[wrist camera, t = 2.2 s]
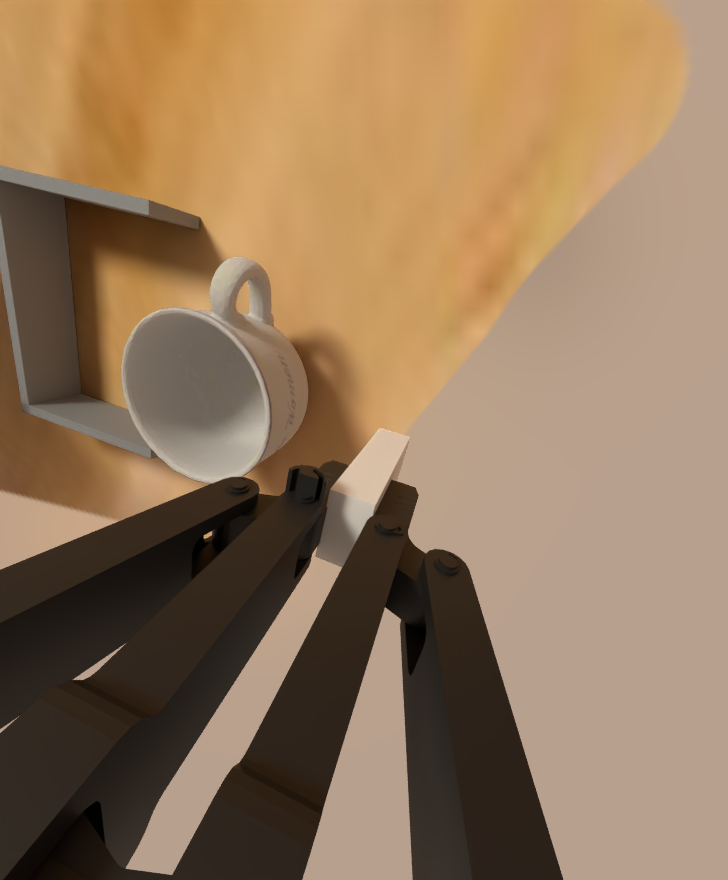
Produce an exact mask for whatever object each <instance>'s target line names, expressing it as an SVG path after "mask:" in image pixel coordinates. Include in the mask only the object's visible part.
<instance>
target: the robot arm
mask: <svg viewBox="0 0 728 880" xmlns="http://www.w3.org/2000/svg"><path fill="white" fill-rule="evenodd" d="M409 439H410V437H408V436H404V435H401V434H398V433H395V432H392V431H389V430H386V429H383V428H379V430H378V431H377V432H376V433H375V434H374V436H373V437H372V438H371V439H370V441H369V442H368V443H367V444H366V446H365V447H364V448H363V449H362V451H361V452H360V453H359V454H358V455H357V457H356V458H355V459H354V460H353V462H352V463H351V464H350V465H349V466H348V465H345V464H342V463H339V462H337V461H334V460H333V461H330V462H327V463H324V464H323V465H322V466H321V467H320V468H319V469H318V468H316V467H312V466H304V465H300V466H294V467H292V468H290V469H289V473H288V479H287V485H286V491H285V492H284V493H283V494H282V495H281V496H271V495H264V494H259V486H258V484H257V483H256V482H255V481H253V480H251V479H248V478H245V477H229V478H225V479H222V480H220V481H217V482H215V483H212V484H210V485H207V486H205V487H202V488H200V489H198V490H195V491H193V492H190V493H188V494H185V495H183V496H180V497H178V498H175V499H173V500H171V501H168V502H166V503H163V504H161V505H158V506H156V507H153V508H151V509H148V510H146V511H144V512H141V513H139V514H136V515H134V516H131V517H129V518H126V519H124V520H121V521H119V522H117V523H114V524H112V525H109V526H107V527H104V528H102V529H100V530H97V531H94V532H92V533H90V534H87V535H85V536H82V537H80V538H77V539H75V540H73V541H70V542H68V543H65V544H63V545H60V546H58V547H55V548H53V549H50V550H48V551H46V552H43V553H41V554H38V555H36V556H33V557H31V558H28V559H26V560H23V561H21V562H19V563H16V564H13V565H11V566H9V567H6V568H4V569H1V570H0V729H1V728H2V727H4V726H5V725H7V724H8V723H10V722H11V721H13V720H14V719H16V718H17V717H18V716H19V717H18V718H17V719H16V720H15V721H14V722H12V723H11V724H10V725H9V726H8V727H7V728H6V729H5V730H4V731H2V732H1V733H0V880H302V879H303V875H304V872H305V869H306V865H307V862H308V859H309V856H310V852H311V849H312V846H313V842H314V839H315V836H316V832H317V829H318V826H319V822H320V819H321V815H322V811H323V807H324V804H325V800H326V797H327V794H328V790H329V787H330V784H331V781H332V777H333V774H334V771H335V768H336V764H337V761H338V758H339V755H340V751H341V748H342V745H343V741H344V738H345V734H346V731H347V729H348V725H349V722H350V719H351V715H352V712H353V709H354V706H355V702H356V699H357V696H358V693H359V690H360V686H361V683H362V680H363V676H364V673H365V670H366V666H367V663H368V660H369V657H370V654H371V650H372V647H373V644H374V641H375V637H376V634H377V631H378V628H379V624H380V621H381V618H382V615H383V611H384V608H385V607H386V608H387V609H388V610H390V611H391V612H392V613H394V614H395V615H396V616H398V617H399V618H400V619H401V623H400V632H401V652H402V671H403V693H404V712H405V732H406V753H407V773H408V792H409V813H410V833H411V853H412V873H413V880H563V877H562V874H561V871H560V867H559V864H558V861H557V858H556V854H555V851H554V848H553V844H552V841H551V838H550V835H549V831H548V828H547V824H546V821H545V818H544V815H543V811H542V808H541V805H540V802H539V798H538V795H537V792H536V788H535V785H534V782H533V778H532V775H531V772H530V769H529V766H528V762H527V759H526V756H525V752H524V749H523V746H522V742H521V739H520V736H519V732H518V729H517V726H516V723H515V719H514V716H513V713H512V710H511V706H510V703H509V700H508V696H507V693H506V690H505V687H504V683H503V680H502V677H501V673H500V670H499V667H498V663H497V660H496V657H495V654H494V650H493V647H492V644H491V640H490V637H489V634H488V630H487V627H486V624H485V621H484V617H483V614H482V611H481V607H480V604H479V601H478V598H477V595H476V591H475V588H474V584H473V581H472V578H471V575H470V571H469V569H468V567H467V565H466V563H464V561H462V559H460V558H459V557H458V556H456V555H455V554H453V553H451V552H448V551H445V550H439V549H434V550H430V551H429V552H427V553H424V552H423V551H421V550H420V549H418V548H417V547H416V546H415V545H414V544H413V543H412V542H411V540H410V539H409V536H408V529H409V525H410V522H411V519H412V516H413V512H414V509H415V506H416V502H417V499H418V493H417V491H416V488H415V487H412V486H409V485H406V484H403V483H400V482H397V479H398V476H399V472H400V469H401V466H402V463H403V459H404V456H405V453H406V449H407V446H408V443H409ZM211 531H212V536H210V537H208V538H206V539H204V535H205V534H207V533H209V532H211ZM317 546H318V547H317ZM316 547H317V551H316V557H318V558H321V559H323V560H326V561H328V562H331V563H333V564H336V565H338V566H341V567H342V569H341V571H340V573H339V575H338V577H337V579H336V581H335V583H334V585H333V587H332V589H331V591H330V592H329V594H328V596H327V598H326V600H325V602H324V604H323V606H322V608H321V610H320V612H319V613H318V616H317V617H316V619H315V621H314V623H313V625H312V627H311V629H310V631H309V633H308V635H307V637H306V639H305V640H304V643H303V645H302V646H301V648H300V650H299V652H298V654H297V656H296V658H295V660H294V662H293V663H292V666H291V667H290V669H289V671H288V673H287V675H286V677H285V679H284V681H283V683H282V685H281V687H280V688H279V691H278V692H277V694H276V696H275V698H274V700H273V702H272V704H271V706H270V708H269V710H268V712H267V713H266V715H265V717H264V719H263V721H262V723H261V725H260V727H259V729H258V731H257V733H256V735H255V737H254V739H253V740H252V742H251V744H250V746H249V748H248V750H247V752H246V754H245V755H244V757H243V758H242V760H241V761H240V763H238V764H237V765H235V766H234V767H233V768H232V769H231V770H230V772H229V773H228V775H227V776H226V778H225V779H224V781H223V783H222V784H221V787H220V788H219V790H218V791H217V793H216V795H215V797H214V798H213V801H212V802H211V804H210V806H209V808H208V810H207V811H206V813H205V815H204V817H203V819H202V821H201V823H200V825H199V827H198V828H197V830H196V832H195V834H194V836H193V837H192V839H191V841H190V843H189V845H188V847H187V849H186V850H185V853H184V854H183V856H182V858H181V860H180V862H179V863H178V865H177V867H176V869H175V871H174V873H173V875H166V874H160V873H152V872H145V871H137V870H130V869H125V868H126V866H127V864H128V863H129V861H130V859H131V857H132V856H133V854H134V852H135V850H136V849H137V847H138V845H139V843H140V841H141V839H142V837H143V835H144V833H145V831H146V828H147V826H148V823H149V821H150V818H151V816H152V813H153V811H154V809H155V807H156V805H157V803H158V801H159V799H160V798H161V796H162V794H163V792H164V791H165V789H166V788H167V786H168V785H169V783H170V782H171V780H172V778H173V777H174V775H175V774H176V772H177V771H178V769H179V767H180V766H181V764H182V763H183V761H184V760H185V758H186V757H187V755H188V754H189V752H190V750H191V749H192V747H193V746H194V744H195V743H196V741H197V739H198V738H199V736H200V735H201V733H202V732H203V730H204V729H205V727H206V726H207V724H208V722H209V721H210V719H211V718H212V716H213V715H214V713H215V712H216V710H217V708H218V707H219V705H220V704H221V702H222V701H223V699H224V698H225V696H226V695H227V693H228V691H229V690H230V688H231V686H232V685H233V684H234V682H235V681H236V679H237V677H238V676H239V674H240V673H241V671H242V669H243V668H244V667H245V665H246V663H247V662H248V660H249V659H250V657H251V656H252V654H253V653H254V651H255V649H256V648H257V646H258V645H259V643H260V642H261V640H262V638H263V637H264V635H265V634H266V632H267V631H268V629H269V628H270V626H271V625H272V623H273V621H274V620H275V618H276V617H277V615H278V614H279V612H280V610H281V609H282V607H283V606H284V604H285V603H286V601H287V600H288V598H289V597H290V595H291V593H292V592H293V590H294V589H295V587H296V586H297V584H298V583H299V581H300V580H301V578H302V576H303V575H304V573H305V572H306V570H307V569H308V567H309V565H310V561H311V557H312V553H313V552H314V550H315V549H316ZM125 643H126V644H125ZM124 644H125V645H124ZM122 645H124V646H123V647H122V648H121V649H120V650H119V651H118V652H117V653H116V654H115V655H114V656H113V657H111V659H109V660H108V661H107V662H106V663H105V664H104V665H103V666H102V667H101V668H100V669H99V670H98V671H97V672H95V673H94V674H93V675H92V676H91V677H89V678H87V679H84V680H73V679H74V678H75V677H77V676H78V675H80V674H81V673H83V672H84V671H86V670H87V669H89V668H90V667H92V666H93V665H95V664H96V663H97V662H99V661H100V660H102V659H103V658H105V657H106V656H108V655H109V654H111V653H112V652H113V651H115V650H116V649H118V648H119V647H120V646H122Z"/></svg>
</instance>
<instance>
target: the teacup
mask: <svg viewBox="0 0 728 880" xmlns="http://www.w3.org/2000/svg"><path fill="white" fill-rule="evenodd" d="M246 281H248V285H249V292H250V311H249V313H248V314H245V313H240V312H238V311H237V310H236V300H237V295H238V293H239V290H240V288H241V287H242V285H243V284H244V283H245V282H246ZM210 302H211V307H212V310H192V309H187V308H166V309H161V310H158V311H156V312H153V313H151V314H149V315H148V316H146V317H145V318H144V319H143V320H141V321H140V322H139V323H138V325H137V326H136V327H135V328H134V330H133V331H132V333H131V335H130V337H129V339H128V341H127V343H126V345H125V349H124V352H123V358H122V367H121V373H122V386H123V391H124V396H125V401H126V404H127V407H128V410H129V413H130V415H131V418H132V420H133V422H134V424H135V426H136V428H137V430H138V431H139V433H140V434H141V436H142V437H143V439H144V440H145V442H146V443H147V444H148V446H149V447H150V448H151V449H152V450H153V451H154V452H155V453H156V454H157V456H158V457H159V458H160V459H162V460H163V461H164V462H165V463H166V464H167V465H168V466H169V467H171V468H172V469H173V470H174V471H177V472H179V473H181V474H182V475H184V476H186V477H188V478H191V479H193V480H196V481H200V482H204V483H209V484H212V483H215V482H217V481H220V480H222V479H225V478H229V477H243V476H245V475H246V474H247V473H249V472H250V471H251V470H253V469H254V468H255V467H256V466H257V465H258V464H259V463H261V462H262V461H264V460H265V459H267V458H268V457H269V456H271V455H272V454H274V453H275V452H276V451H278V450H279V449H280V448H281V447H283V446H284V445H285V444H286V443H287V442H288V441H289V440H290V439H291V438H292V437H293V436H294V434H295V433H296V432H297V430H298V429H299V427H300V425H301V423H302V421H303V419H304V416H305V413H306V409H307V404H308V381H307V376H306V372H305V369H304V366H303V363H302V361H301V359H300V357H299V355H298V353H297V351H296V350H295V348H294V347H293V345H292V344H291V343H290V341H289V340H288V339H287V338H286V337H285V336H284V335H283V334H282V333H281V332H280V331H279V330H278V329H276V328H275V327H274V324H273V322H274V319H273V315H272V313H271V286H270V281H269V278H268V275H267V273H266V271H265V270H264V269H263V268H262V267H261V266H260V265H259V264H258V263H256V262H255V261H253V260H250V259H248V258H245V257H233V258H230V259H228V260H226V261H225V262H224V263H222V264H221V265H220V267H219V268H218V269H217V270H216V272H215V274H214V277H213V279H212V282H211V287H210Z"/></svg>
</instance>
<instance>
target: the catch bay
mask: <svg viewBox="0 0 728 880" xmlns="http://www.w3.org/2000/svg"><path fill="white" fill-rule="evenodd" d="M64 197H65V198H69V199H73V200H77V201H81V202H85V203H89V204H94V205H98V206H102V207H106V208H110V209H114V210H119V211H123V212H127V213H131V214H135V215H139V216H143V217H148V218H152V219H156V220H160V221H164V222H168V223H172V224H177V225H181V226H185V227H189V228H193V229H197V230H199V223H200V217H197V216H194V215H191V214H188V213H186V212H183V211H180V210H177V209H174V208H171V207H168V206H165V205H162V204H159V203H156V202H153V201H150V200H146V199H142V198H138V197H133V196H129V195H125V194H120V193H116V192H112V191H107V190H103V189H99V188H95V187H90V186H86V185H82V184H77V183H73V182H69V181H64V180H60V179H56V178H51V177H47V176H43V175H38V174H34V173H30V172H25V171H21V170H17V169H12V168H8V167H4V166H0V270H1V277H2V283H3V289H4V296H5V302H6V308H7V315H8V321H9V328H10V334H11V340H12V347H13V353H14V359H15V366H16V372H17V379H18V385H19V391H20V398H21V404H22V410H23V412H26V413H28V414H31V415H34V416H37V417H39V418H42V419H45V420H47V421H50V422H53V423H56V424H58V425H61V426H64V427H66V428H69V429H72V430H74V431H77V432H80V433H83V434H85V435H88V436H91V437H93V438H96V439H99V440H102V441H104V442H107V443H110V444H112V445H115V446H118V447H120V448H123V449H126V450H129V451H131V452H134V453H137V454H139V455H142V456H145V457H148V458H150V459H151V458H154V457H156V456H157V454H156V453H155V452H154V451H153V450H152V449H151V448H150V447H149V446H148V444H147V443H146V442H145V440H144V439H143V437H142V436H141V434H140V433H139V431H138V430H137V428H136V426H135V424H134V422H133V420H132V418H131V415H130V413H129V410H127V409H124V408H121V407H118V406H116V405H113V404H110V403H107V402H104V401H101V400H98V399H95V398H93V397H90V396H87V395H84V394H82V393H81V382H80V370H79V359H78V347H77V336H76V324H75V313H74V301H73V290H72V278H71V267H70V255H69V244H68V232H67V221H66V209H65V198H64Z"/></svg>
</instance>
